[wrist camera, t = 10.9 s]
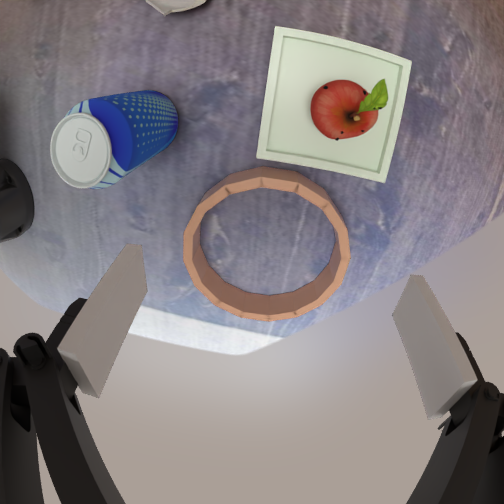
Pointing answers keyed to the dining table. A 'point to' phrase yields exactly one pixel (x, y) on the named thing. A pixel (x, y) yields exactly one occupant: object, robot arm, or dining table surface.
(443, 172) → the dining table surface
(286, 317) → the ring band
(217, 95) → the dining table surface
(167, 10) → the pottery shard
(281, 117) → the tray
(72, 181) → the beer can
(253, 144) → the dining table surface
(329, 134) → the apple
